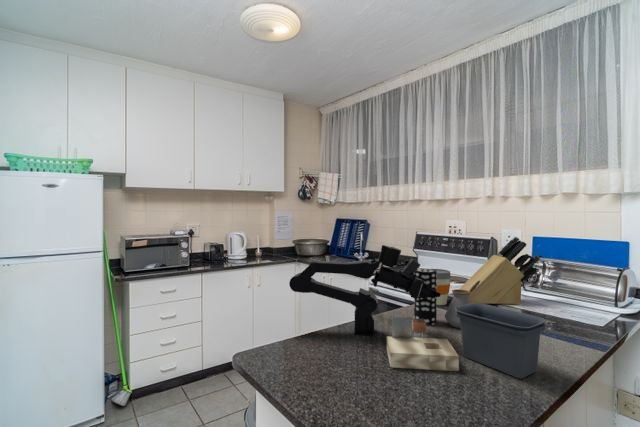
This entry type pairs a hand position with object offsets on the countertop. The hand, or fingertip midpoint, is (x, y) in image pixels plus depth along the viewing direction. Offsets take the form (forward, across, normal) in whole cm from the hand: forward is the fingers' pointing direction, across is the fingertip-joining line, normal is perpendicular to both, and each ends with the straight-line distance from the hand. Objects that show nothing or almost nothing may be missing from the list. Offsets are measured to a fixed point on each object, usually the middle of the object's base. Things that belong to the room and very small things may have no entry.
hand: (437, 292), depth 112 cm
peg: (-2, -4, +17) cm, 17 cm away
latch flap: (-10, -13, +12) cm, 21 cm away
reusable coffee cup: (+11, +46, +10) cm, 48 cm away
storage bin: (+18, -16, +12) cm, 27 cm away
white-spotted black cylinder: (+2, +16, +14) cm, 22 cm away
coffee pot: (+18, +18, +9) cm, 27 cm away
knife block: (+39, +52, +1) cm, 65 cm away
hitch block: (-3, -18, +18) cm, 25 cm away
